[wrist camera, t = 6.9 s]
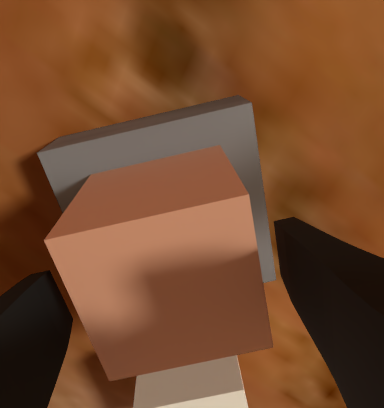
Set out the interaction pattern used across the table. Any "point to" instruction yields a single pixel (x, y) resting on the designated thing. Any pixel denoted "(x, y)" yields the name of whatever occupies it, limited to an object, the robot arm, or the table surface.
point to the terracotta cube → (164, 264)
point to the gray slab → (166, 154)
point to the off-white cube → (193, 386)
